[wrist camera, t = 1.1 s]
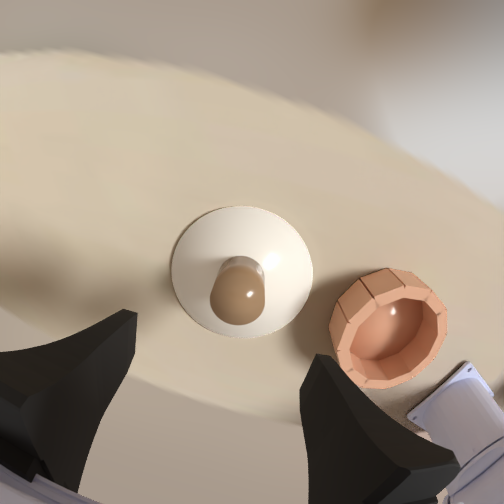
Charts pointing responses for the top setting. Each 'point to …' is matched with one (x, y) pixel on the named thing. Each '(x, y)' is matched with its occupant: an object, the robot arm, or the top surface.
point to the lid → (242, 272)
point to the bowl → (387, 328)
